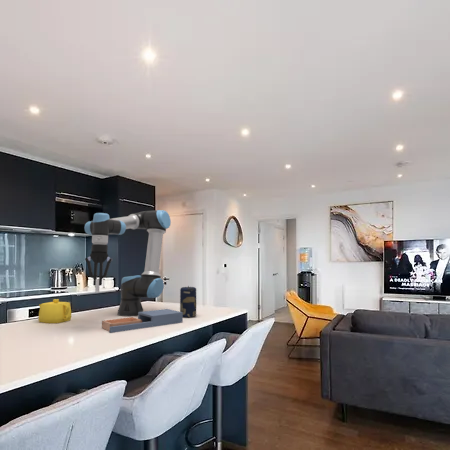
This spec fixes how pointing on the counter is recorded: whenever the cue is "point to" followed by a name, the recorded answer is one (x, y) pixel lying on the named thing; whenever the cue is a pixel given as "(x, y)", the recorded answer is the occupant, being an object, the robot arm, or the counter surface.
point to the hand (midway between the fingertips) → (97, 292)
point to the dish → (119, 322)
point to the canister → (188, 301)
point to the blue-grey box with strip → (152, 320)
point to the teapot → (55, 312)
